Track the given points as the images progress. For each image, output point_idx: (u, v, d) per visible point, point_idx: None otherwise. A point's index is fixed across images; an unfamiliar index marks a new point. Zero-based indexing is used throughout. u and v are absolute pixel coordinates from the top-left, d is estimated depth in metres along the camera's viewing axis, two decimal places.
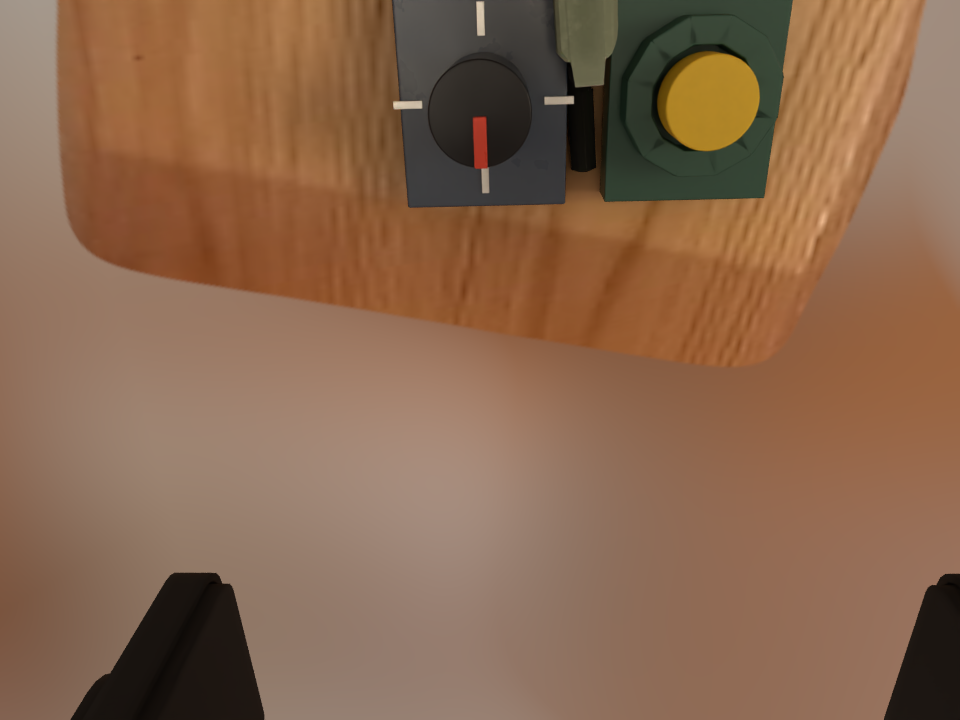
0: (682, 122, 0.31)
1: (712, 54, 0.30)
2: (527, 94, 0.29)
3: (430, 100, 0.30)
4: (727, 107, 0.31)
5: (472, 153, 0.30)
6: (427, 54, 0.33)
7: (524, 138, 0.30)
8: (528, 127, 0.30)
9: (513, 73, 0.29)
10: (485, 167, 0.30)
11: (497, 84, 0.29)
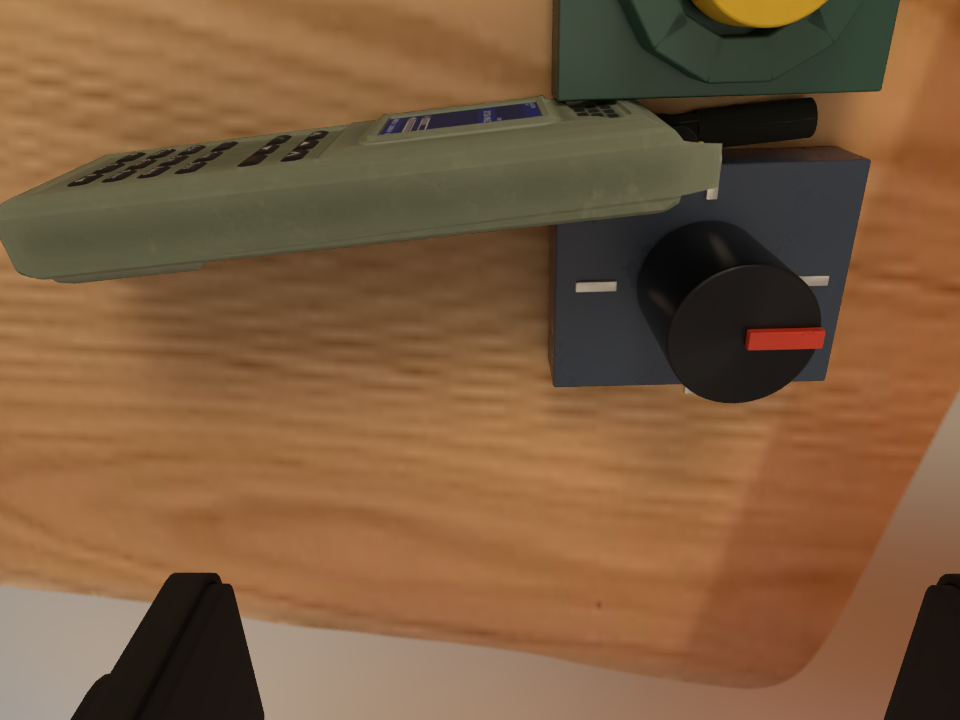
0: None
1: None
2: (725, 271, 0.19)
3: (713, 399, 0.21)
4: None
5: None
6: (631, 350, 0.26)
7: (789, 274, 0.19)
8: (774, 268, 0.19)
9: (693, 291, 0.20)
10: (824, 333, 0.20)
11: (705, 313, 0.20)
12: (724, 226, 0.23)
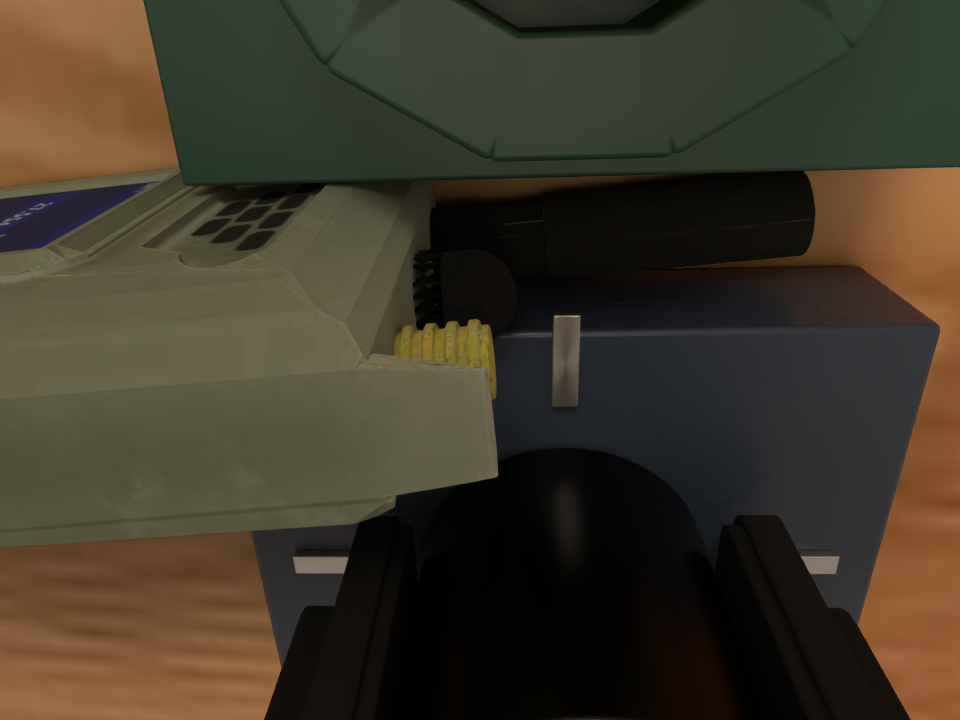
0: None
1: None
2: None
3: None
4: None
5: None
6: None
7: None
8: None
9: None
10: None
11: None
12: (590, 474, 0.10)
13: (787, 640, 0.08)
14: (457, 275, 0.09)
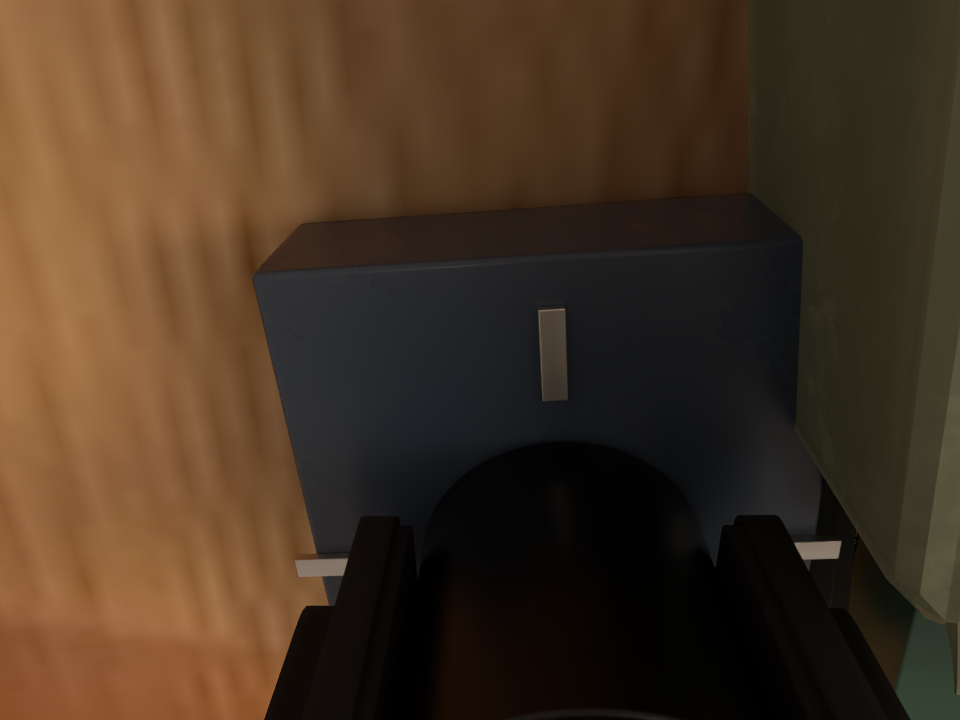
0: None
1: None
2: None
3: None
4: None
5: None
6: (385, 445, 0.11)
7: None
8: None
9: None
10: None
11: None
12: (592, 468, 0.10)
13: (787, 640, 0.08)
14: None
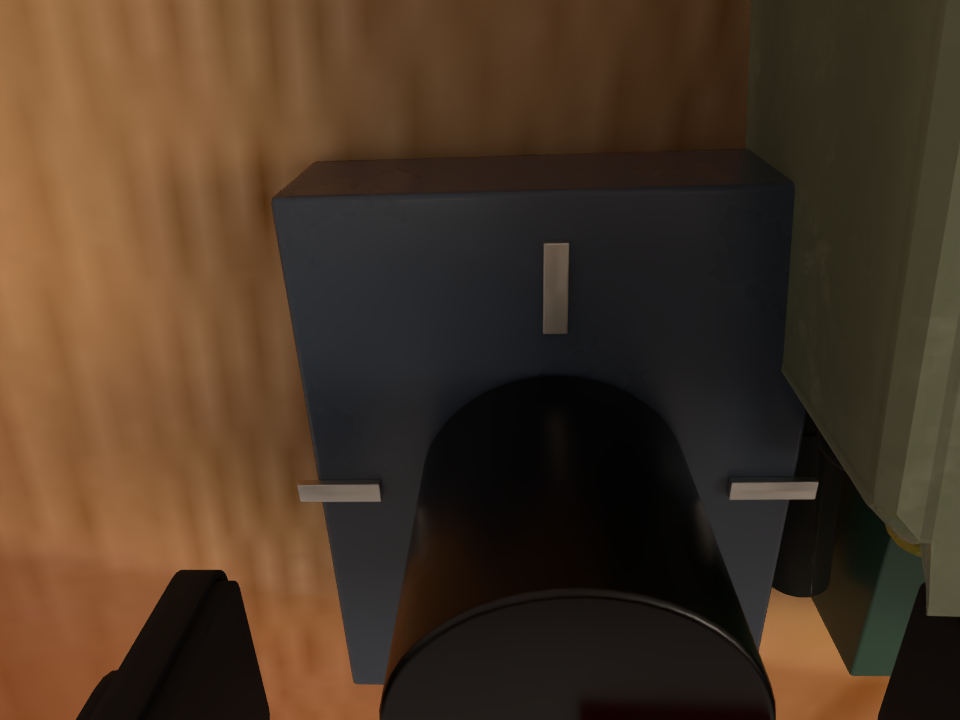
0: None
1: None
2: (508, 602, 0.07)
3: None
4: None
5: None
6: (390, 374, 0.11)
7: (685, 617, 0.07)
8: (641, 603, 0.07)
9: (427, 642, 0.07)
10: None
11: (466, 687, 0.08)
12: (583, 397, 0.10)
13: None
14: None
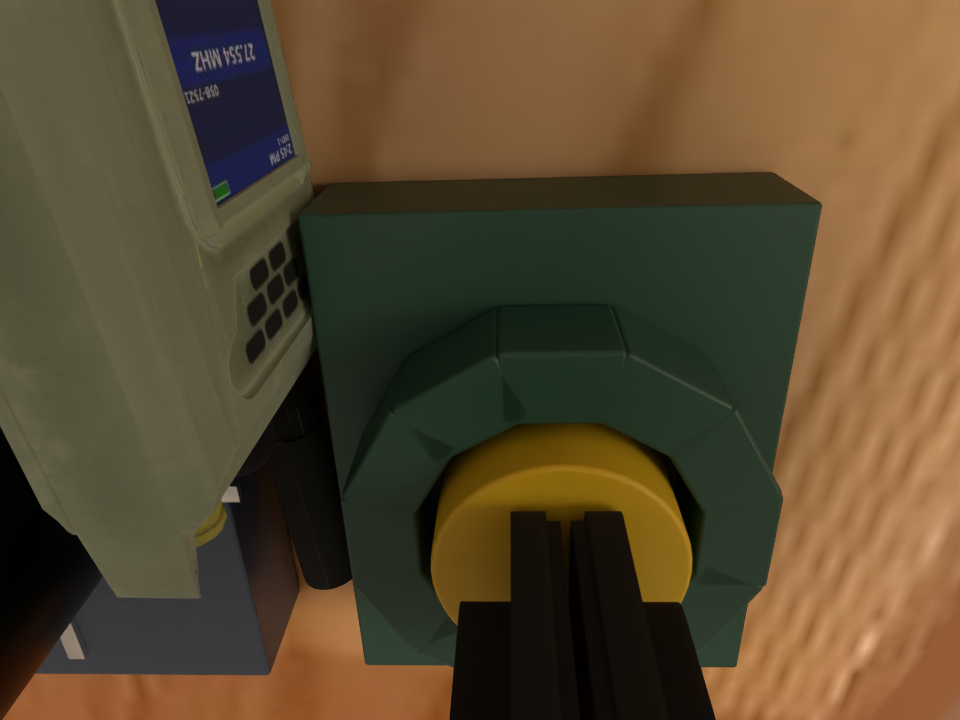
0: None
1: (548, 463, 0.10)
2: None
3: None
4: None
5: None
6: None
7: None
8: None
9: None
10: None
11: None
12: None
13: (597, 632, 0.08)
14: None
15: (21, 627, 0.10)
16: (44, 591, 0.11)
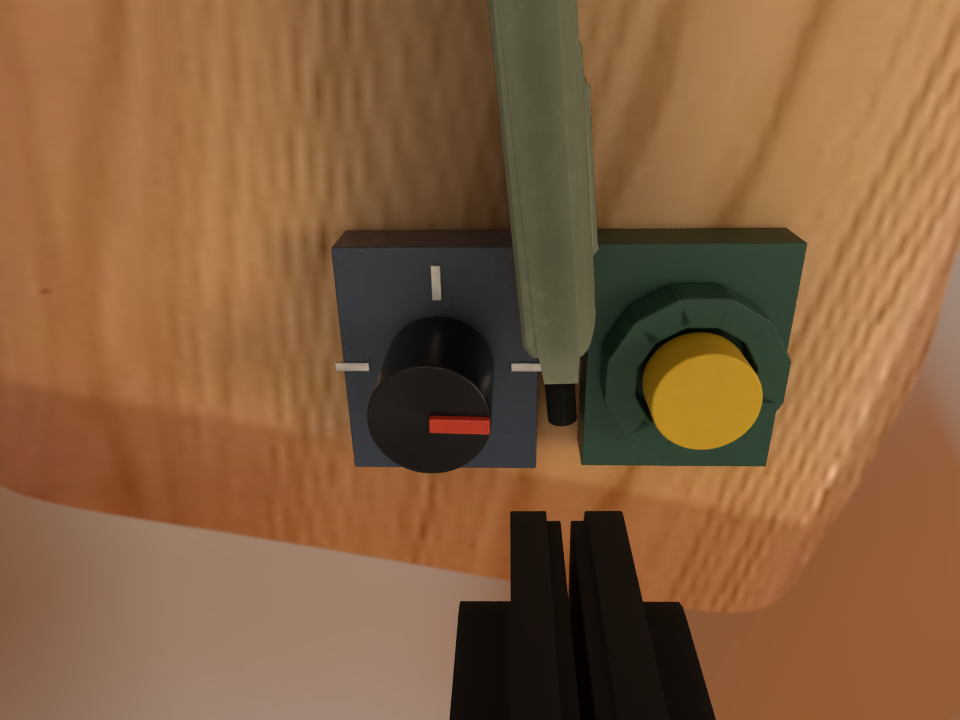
0: (671, 421, 0.26)
1: (707, 353, 0.25)
2: (405, 369, 0.24)
3: (412, 469, 0.26)
4: (724, 407, 0.26)
5: None
6: (374, 315, 0.28)
7: (456, 374, 0.24)
8: (443, 369, 0.24)
9: (381, 384, 0.24)
10: (488, 423, 0.24)
11: (394, 401, 0.25)
12: (446, 323, 0.27)
13: (597, 632, 0.08)
14: None
15: None
16: (492, 393, 0.26)
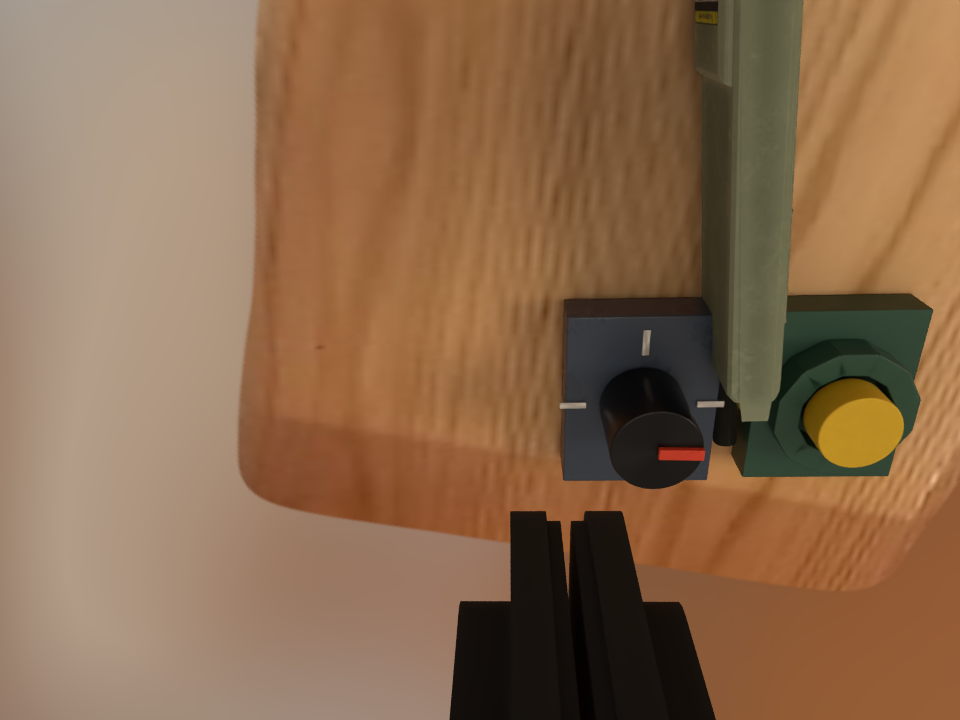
0: (832, 447, 0.35)
1: (864, 397, 0.33)
2: (644, 414, 0.33)
3: (639, 486, 0.34)
4: (874, 436, 0.34)
5: None
6: (594, 367, 0.37)
7: (683, 417, 0.33)
8: (673, 414, 0.32)
9: (625, 425, 0.33)
10: (704, 452, 0.33)
11: (633, 437, 0.33)
12: (653, 373, 0.36)
13: (596, 633, 0.08)
14: None
15: None
16: None
